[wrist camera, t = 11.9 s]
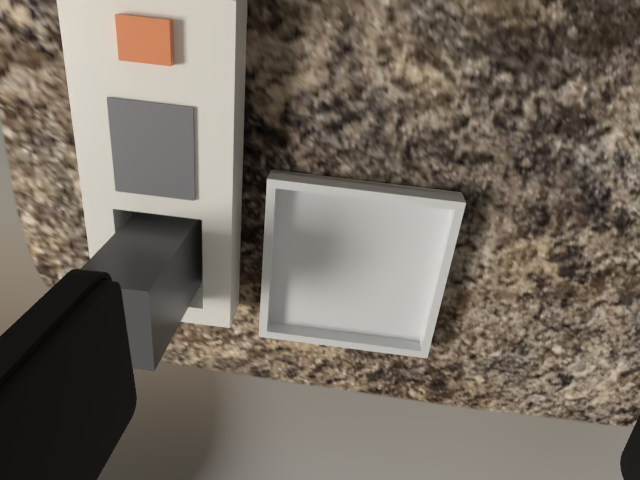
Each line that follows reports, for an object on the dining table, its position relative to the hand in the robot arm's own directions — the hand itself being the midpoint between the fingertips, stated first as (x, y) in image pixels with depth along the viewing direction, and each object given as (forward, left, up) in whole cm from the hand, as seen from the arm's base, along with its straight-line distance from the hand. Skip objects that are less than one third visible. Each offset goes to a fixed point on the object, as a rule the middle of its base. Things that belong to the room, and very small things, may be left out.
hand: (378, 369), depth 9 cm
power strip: (+7, +13, -26) cm, 30 cm away
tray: (-8, +10, -26) cm, 29 cm away
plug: (+3, +18, -26) cm, 31 cm away
